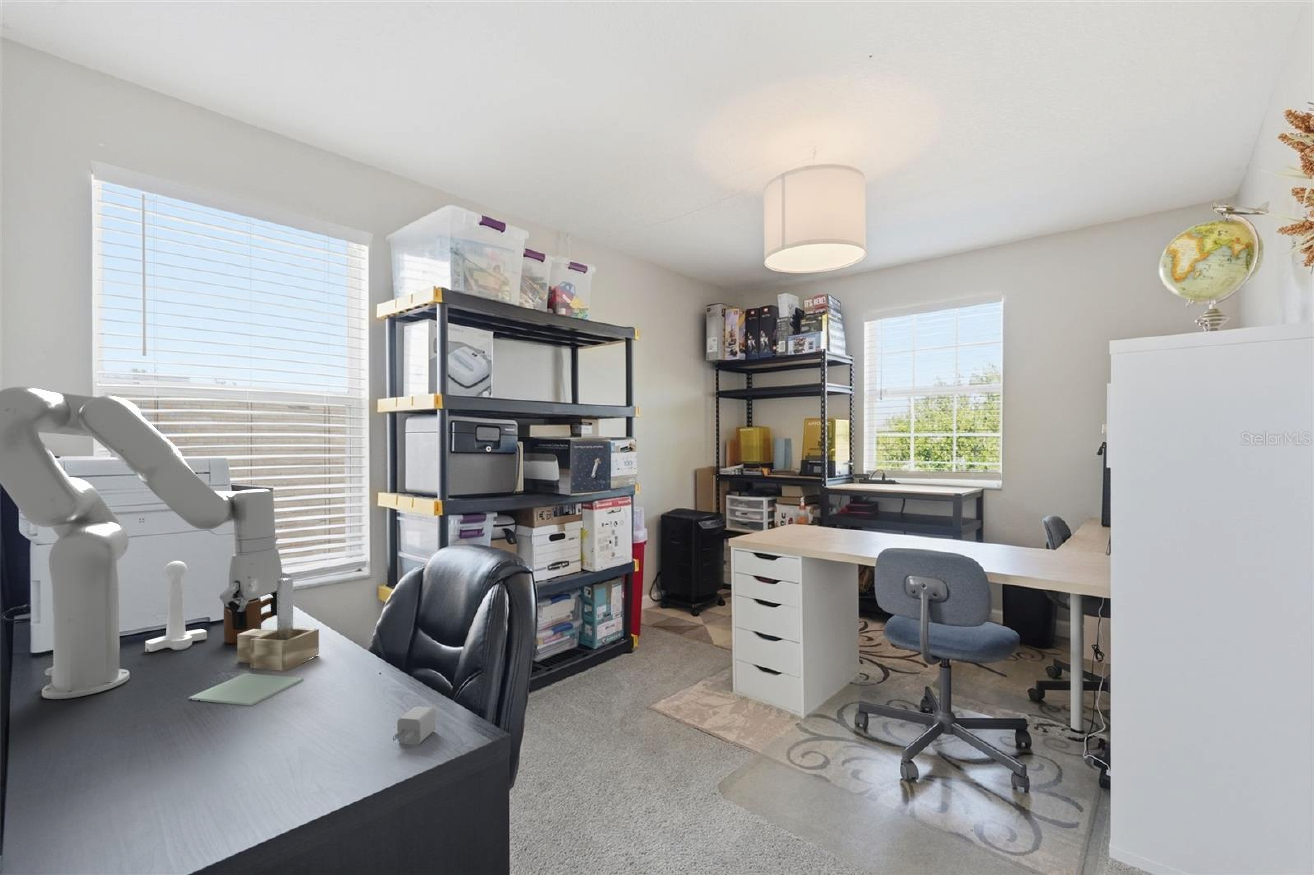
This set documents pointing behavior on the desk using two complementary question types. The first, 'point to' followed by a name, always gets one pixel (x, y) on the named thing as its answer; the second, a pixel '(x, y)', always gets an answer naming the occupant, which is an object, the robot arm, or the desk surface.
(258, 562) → the robot arm
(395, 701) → the desk surface
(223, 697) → the mat
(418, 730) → the usb wall charger
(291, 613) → the post
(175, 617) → the joystick
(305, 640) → the beige wooden open box
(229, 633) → the mug
